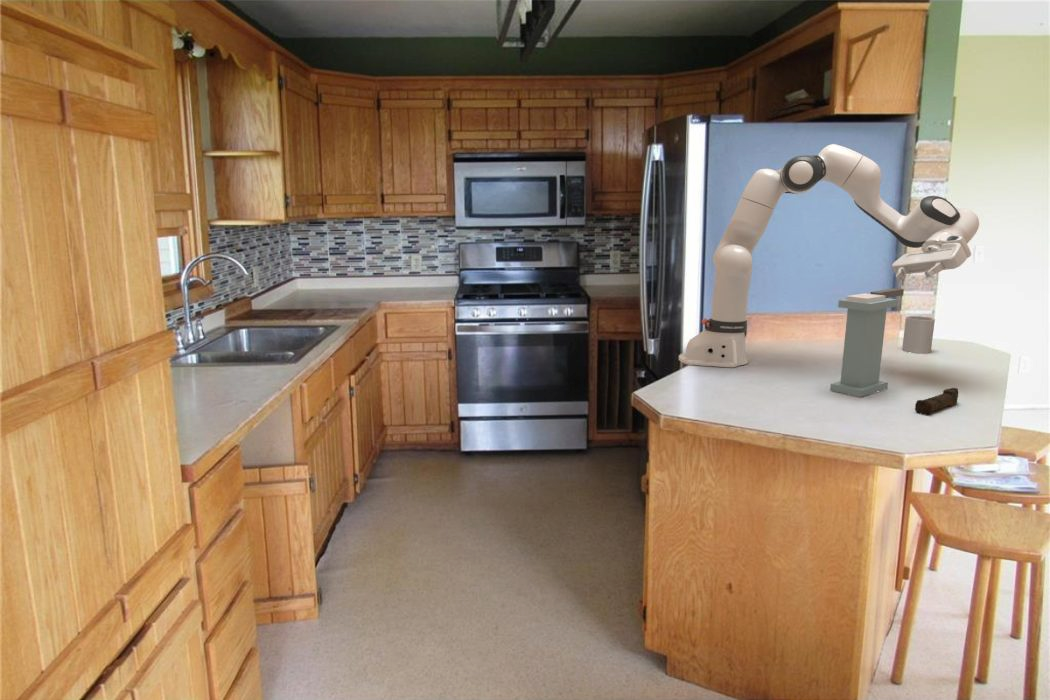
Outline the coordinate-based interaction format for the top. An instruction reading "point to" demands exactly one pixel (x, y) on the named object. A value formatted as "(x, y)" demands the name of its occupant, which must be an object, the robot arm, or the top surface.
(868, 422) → the top surface
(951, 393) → the dark brown elongated piece
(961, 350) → the top surface
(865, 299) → the turner
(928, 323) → the cup
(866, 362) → the stand
